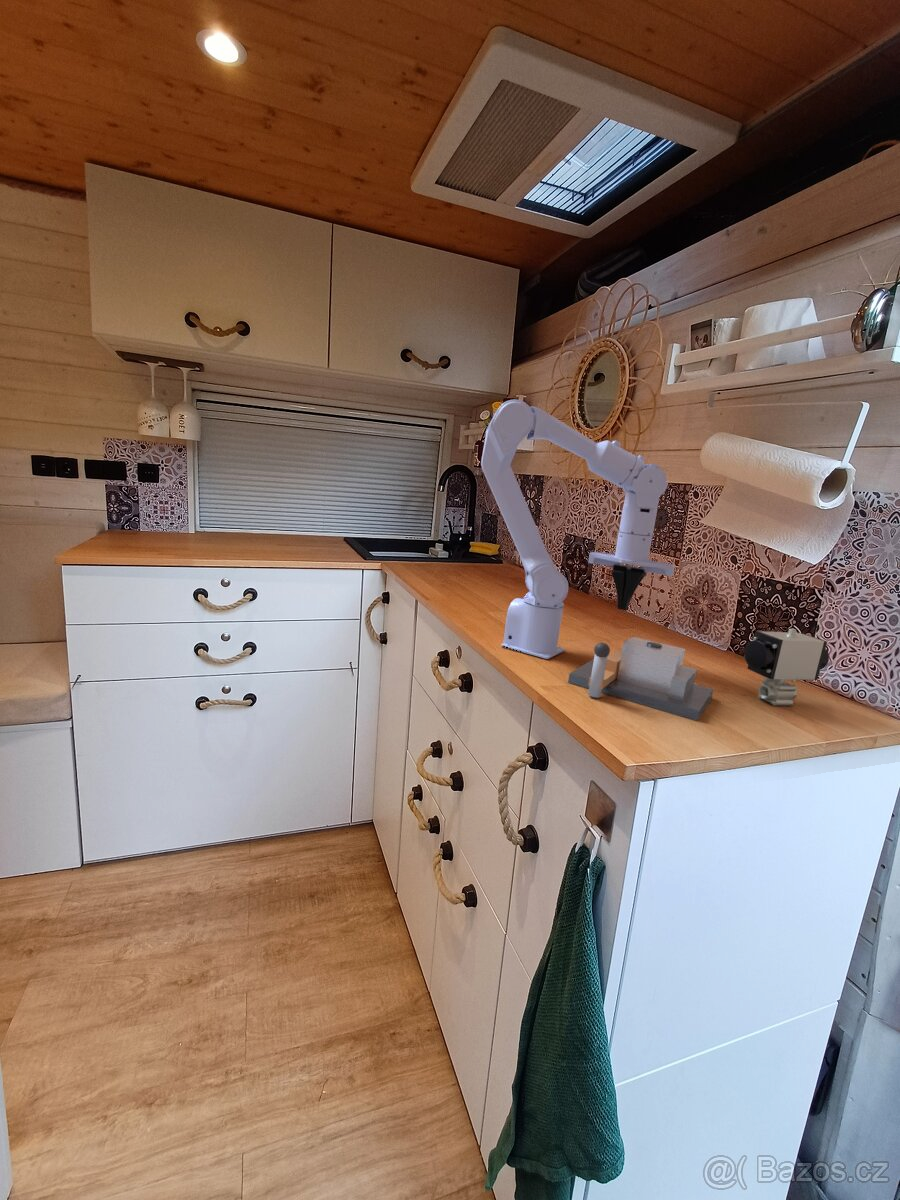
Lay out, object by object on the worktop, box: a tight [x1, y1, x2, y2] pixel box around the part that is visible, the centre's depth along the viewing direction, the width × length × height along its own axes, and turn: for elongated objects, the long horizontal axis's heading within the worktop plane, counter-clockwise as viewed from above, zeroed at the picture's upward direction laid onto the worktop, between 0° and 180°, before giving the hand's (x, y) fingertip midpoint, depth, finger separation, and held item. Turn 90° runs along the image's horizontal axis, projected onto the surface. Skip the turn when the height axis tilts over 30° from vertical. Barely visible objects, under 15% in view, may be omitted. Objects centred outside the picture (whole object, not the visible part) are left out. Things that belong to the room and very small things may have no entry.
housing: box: [617, 636, 686, 694], centre depth 85 cm, size 8×5×6 cm, turn 56°
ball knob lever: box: [587, 642, 622, 698], centre depth 85 cm, size 2×13×8 cm, turn 146°
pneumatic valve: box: [744, 628, 830, 707], centre depth 87 cm, size 6×12×12 cm, turn 104°
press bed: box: [567, 658, 714, 722], centre depth 86 cm, size 19×12×4 cm, turn 56°
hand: (622, 608), depth 101 cm, fingers closed
